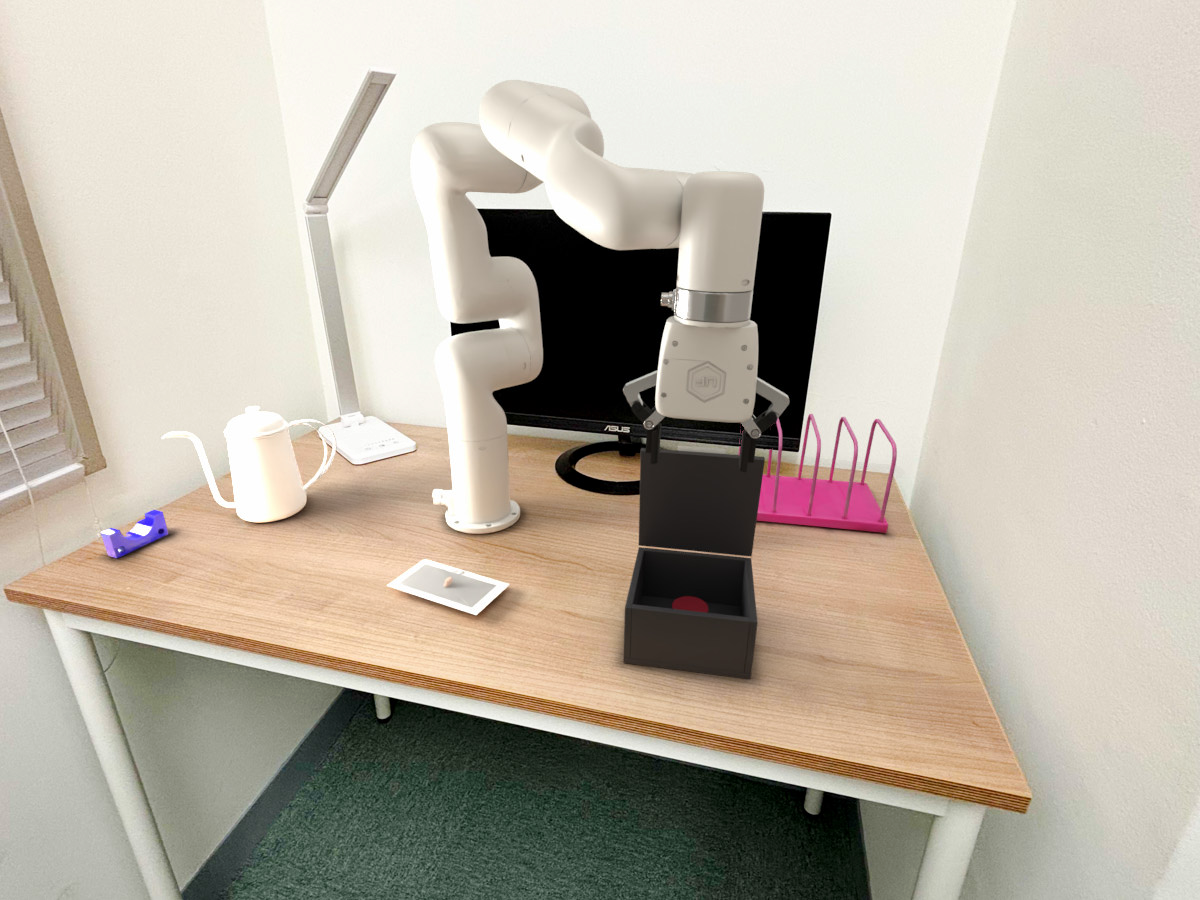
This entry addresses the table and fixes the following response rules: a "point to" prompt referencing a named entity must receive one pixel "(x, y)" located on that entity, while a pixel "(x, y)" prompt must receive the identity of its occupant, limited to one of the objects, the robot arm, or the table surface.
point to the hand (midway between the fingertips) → (698, 463)
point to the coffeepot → (262, 466)
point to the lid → (699, 501)
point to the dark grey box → (691, 613)
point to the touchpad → (449, 586)
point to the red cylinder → (690, 604)
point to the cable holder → (135, 535)
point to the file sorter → (824, 491)
